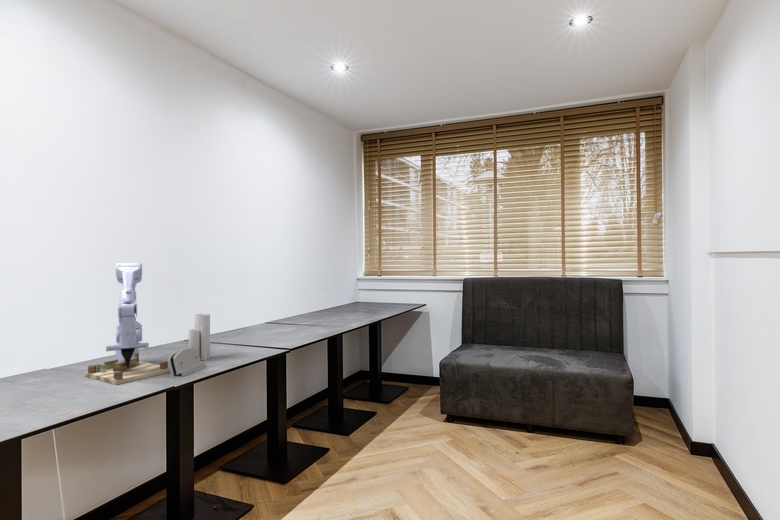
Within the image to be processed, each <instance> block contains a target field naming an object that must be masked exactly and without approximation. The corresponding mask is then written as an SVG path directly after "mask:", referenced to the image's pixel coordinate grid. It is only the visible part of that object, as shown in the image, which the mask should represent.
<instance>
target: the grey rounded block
mask: <svg viewBox="0 0 780 520" xmlns="http://www.w3.org/2000/svg"><path fill="white" fill-rule="evenodd" d="M167 362H168V367H170V372H169V373H170V375H171V377H174V376H177V375H181V377H182V378H183V377H186V376H187V375H190V374H192V373H194V372H196V371H199V370H201V369H203V368H205V366H206V364H205V362H204V361H201V359H200V357H199V355H198V352H197V350H196V349H189V348H184V349H181V350H178V351H176V352H175V353H173V354H172V355H170V356H169V358H168V360H167Z"/></svg>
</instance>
